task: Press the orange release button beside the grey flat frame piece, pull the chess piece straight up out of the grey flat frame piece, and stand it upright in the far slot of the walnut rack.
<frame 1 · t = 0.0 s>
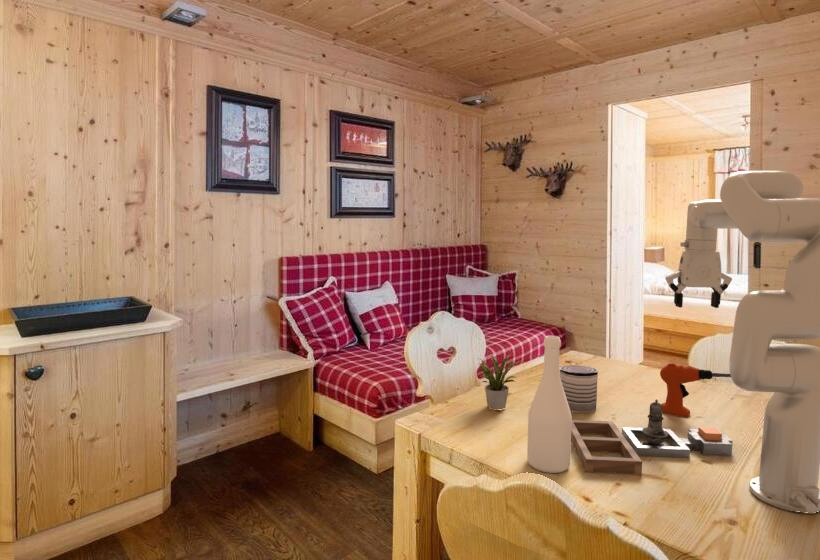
hand: (696, 306, 145), 31 cm above the table, tool pointing down, fingers open, 9 cm apart
walnut rack: (600, 450, 126), on the table
release button: (709, 435, 127), point 3 cm above the table, slide at 0.0 cm
grey flat frame piece: (653, 445, 128), on the table
can: (577, 406, 155), on the table
toy drill: (692, 416, 147), on the table
chess piece: (653, 446, 128), resting in grey flat frame piece
wine bottle: (548, 465, 119), on the table
house plant: (500, 407, 155), on the table
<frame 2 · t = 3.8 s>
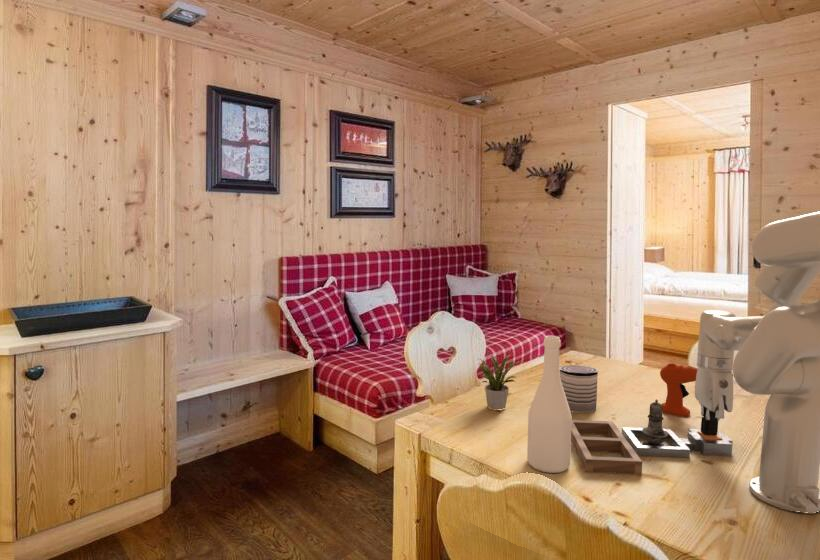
hand: (708, 433, 127), 3 cm above the table, tool pointing down, fingers closed
release button: (709, 439, 127), point 2 cm above the table, slide at 1.1 cm
everything else where it was.
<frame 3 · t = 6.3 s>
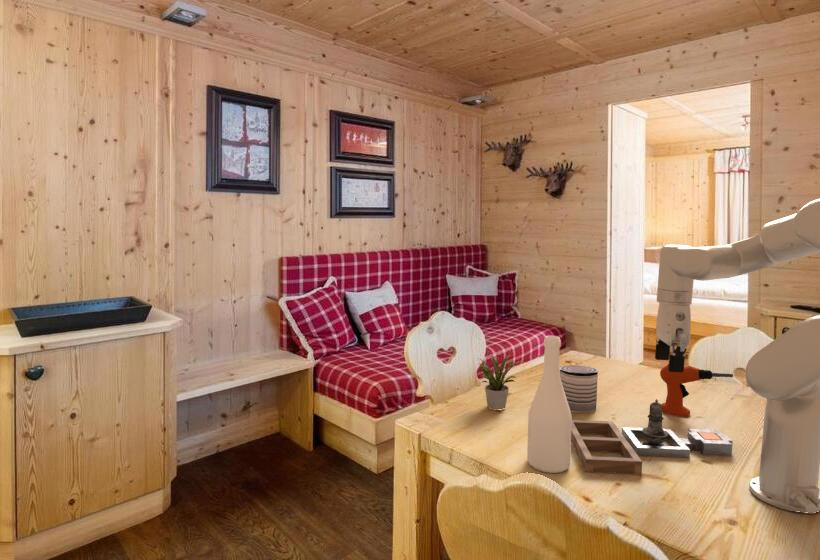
hand: (668, 365, 126), 20 cm above the table, tool pointing down, fingers open, 9 cm apart
release button: (709, 441, 127), point 2 cm above the table, slide at 1.5 cm
everything else where it was.
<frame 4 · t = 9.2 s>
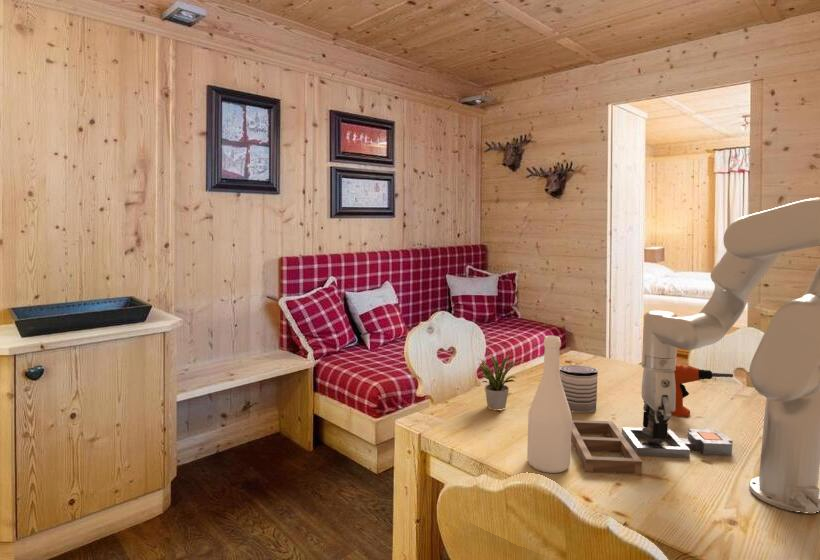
hand: (654, 431, 128), 4 cm above the table, tool pointing down, fingers closed on chess piece, 5 cm apart
chess piece: (653, 446, 128), resting in grey flat frame piece, touching gripper
everything else where it was.
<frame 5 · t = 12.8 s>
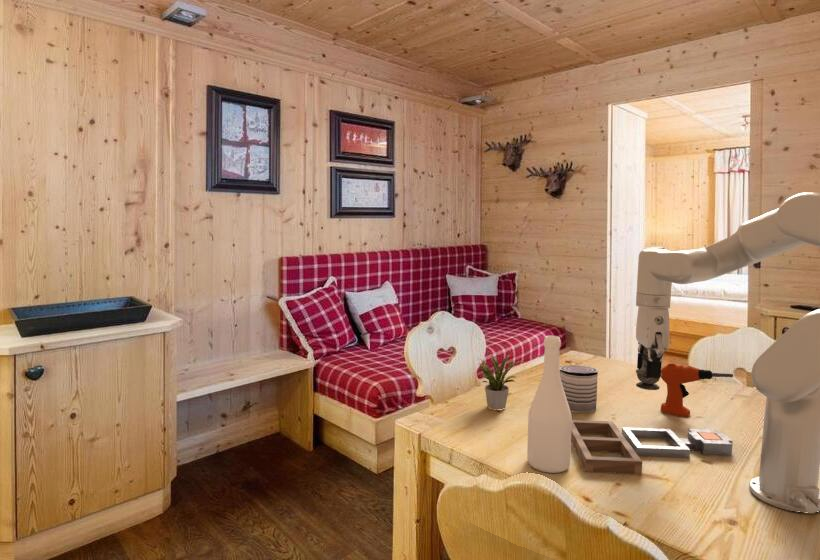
hand: (648, 372, 126), 19 cm above the table, tool pointing down, fingers closed on chess piece, 5 cm apart
chess piece: (647, 387, 127), point 15 cm above the table, touching gripper
everything else where it was.
when the fingers open (5 cm above the table, at t = 16.5 s): chess piece drops 1 cm, resting in walnut rack.
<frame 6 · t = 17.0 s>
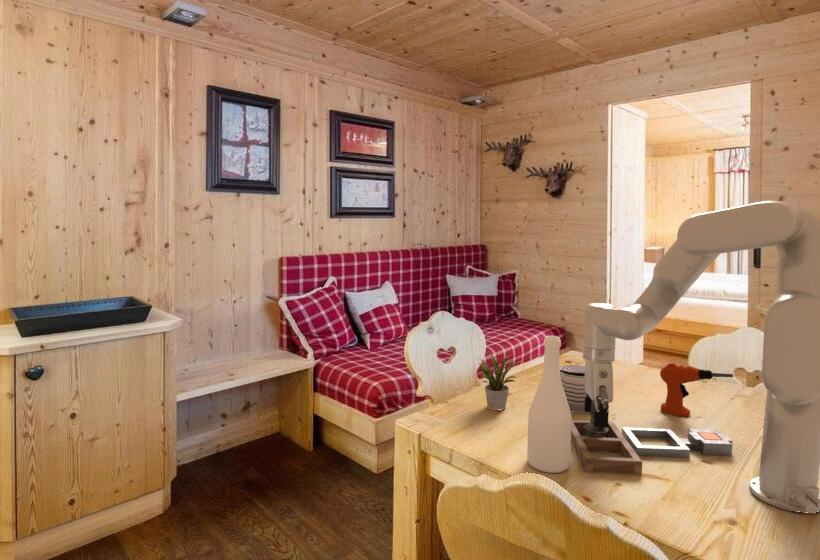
hand: (595, 419, 130), 6 cm above the table, tool pointing down, fingers open, 9 cm apart
chess piece: (595, 442, 131), resting in walnut rack
everything else where it was.
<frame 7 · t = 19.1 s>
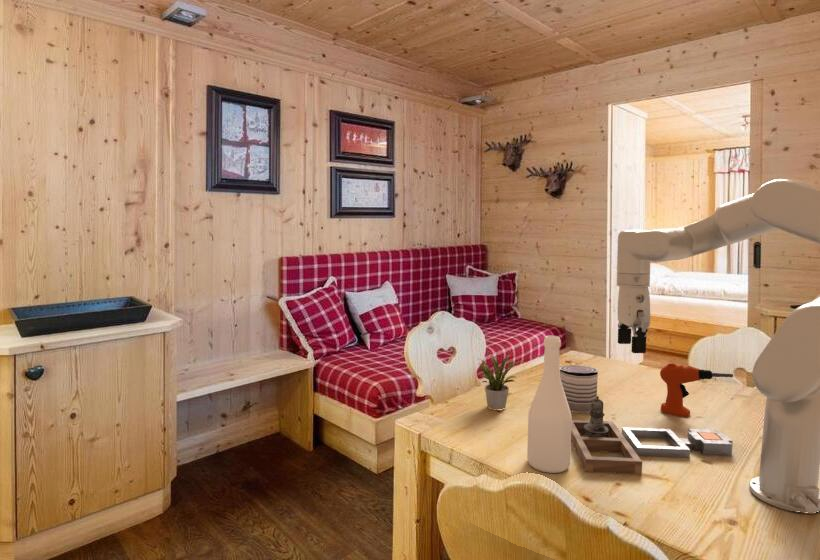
hand: (631, 348, 129), 24 cm above the table, tool pointing down, fingers open, 9 cm apart
nothing on the table moved.
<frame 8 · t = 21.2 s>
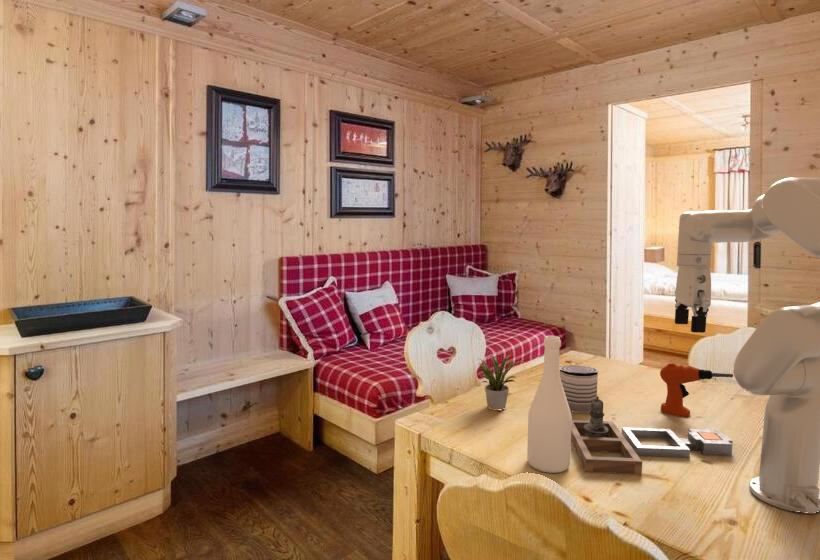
hand: (689, 327, 132), 28 cm above the table, tool pointing down, fingers open, 9 cm apart
nothing on the table moved.
at the end: chess piece 0.2 cm from the target spot on the walnut rack, point 0.0 cm above the walnut rack's base; chess piece tilted 0°; release button slide at 1.5 cm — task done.
